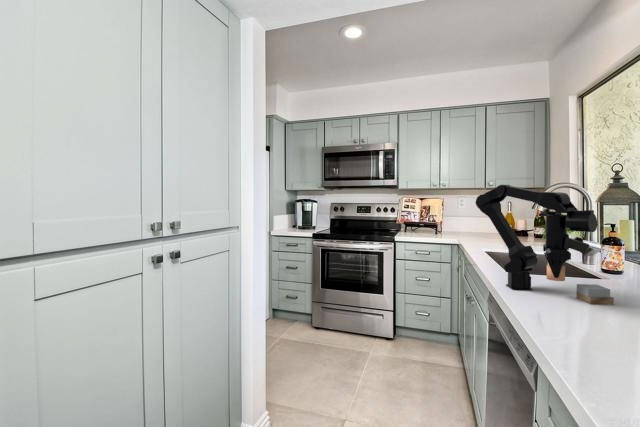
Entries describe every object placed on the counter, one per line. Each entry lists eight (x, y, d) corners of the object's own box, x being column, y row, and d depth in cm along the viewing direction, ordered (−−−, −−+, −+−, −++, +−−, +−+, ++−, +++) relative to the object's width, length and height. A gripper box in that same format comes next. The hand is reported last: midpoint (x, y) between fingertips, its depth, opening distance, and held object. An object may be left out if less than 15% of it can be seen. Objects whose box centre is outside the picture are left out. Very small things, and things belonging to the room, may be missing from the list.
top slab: (588, 296, 100) (588, 289, 100) (576, 291, 106) (576, 284, 106) (610, 297, 99) (610, 289, 99) (597, 292, 105) (597, 284, 105)
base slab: (590, 305, 100) (590, 297, 100) (576, 298, 106) (576, 291, 106) (613, 305, 99) (613, 297, 99) (598, 299, 105) (598, 291, 105)
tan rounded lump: (551, 281, 105) (551, 267, 105) (543, 277, 110) (543, 264, 110) (568, 281, 105) (568, 267, 105) (559, 277, 110) (559, 264, 109)
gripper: (592, 233, 95) (591, 285, 95) (582, 228, 110) (581, 273, 111) (546, 232, 101) (546, 281, 101) (543, 227, 116) (542, 269, 117)
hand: (555, 276), depth 107 cm, fingers closed on tan rounded lump, 5 cm apart
